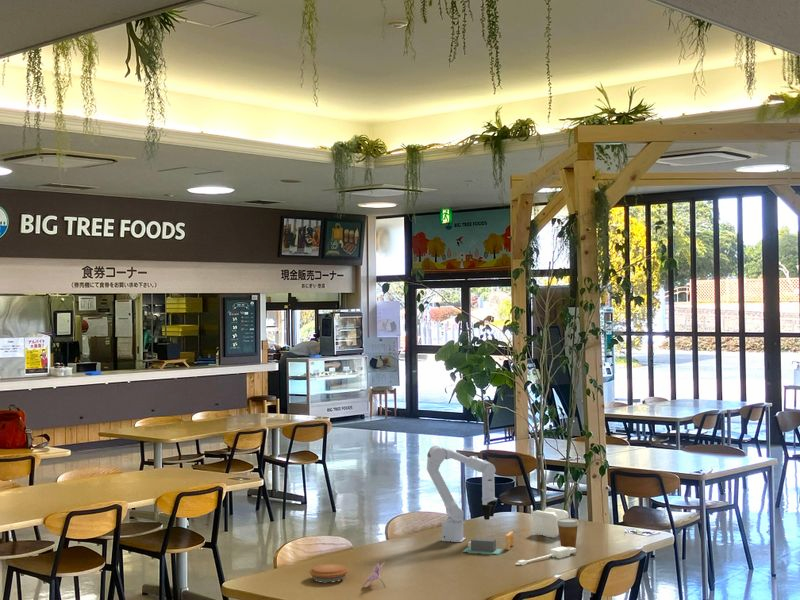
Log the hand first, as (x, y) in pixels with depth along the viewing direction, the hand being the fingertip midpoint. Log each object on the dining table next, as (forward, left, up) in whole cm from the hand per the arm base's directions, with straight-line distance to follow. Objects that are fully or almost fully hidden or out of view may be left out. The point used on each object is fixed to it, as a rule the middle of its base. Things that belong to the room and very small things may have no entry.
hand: (488, 517), depth 442 cm
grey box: (+4, -26, -9) cm, 28 cm away
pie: (-42, -87, -10) cm, 97 cm away
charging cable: (+33, -32, -10) cm, 47 cm away
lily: (-21, -92, -10) cm, 94 cm away
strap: (+14, -16, -9) cm, 23 cm away
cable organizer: (+26, +14, -10) cm, 31 cm away
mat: (+4, -26, -9) cm, 28 cm away
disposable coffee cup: (+38, -8, -10) cm, 40 cm away
